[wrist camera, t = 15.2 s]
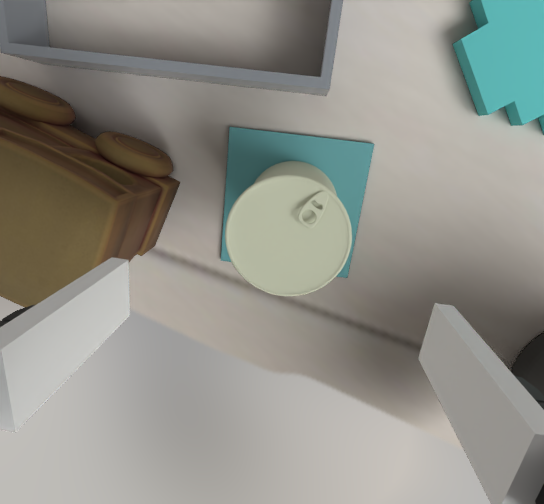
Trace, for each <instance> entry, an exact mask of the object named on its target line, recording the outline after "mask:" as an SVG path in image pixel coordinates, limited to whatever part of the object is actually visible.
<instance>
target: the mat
mask: <svg viewBox="0 0 544 504" xmlns="http://www.w3.org/2000/svg"><path fill="white" fill-rule="evenodd" d="M373 148H374V144H371V143H363V142H354V141H346V140H338V139H329V138H321V137H312V136H304V135H296V134H287V133H279V132H270V131H262V130H254V129H245V128H237V127H230V129H229V144H228V159H227V174H226V189H225V204H224V219H223V234H222V249H221V261H229V262H231V259H230V257H229V255H228V251H227V247H226V242H225V228H226V222H227V218H228V215H229V212H230V210H231V208H232V206H233V204H234V203H235V201H236V200H237V199H238V197H239V196H240V195H241V194H242V193H243V192H244V191H245V190H246V189H247V188H249V187H250V186H251V185H253V184H254V182H255V181H256V179H257V178H258V177H259V176H260V175H261V174H262V173H263V172H264V171H265V170H266V169H268V168H269V167H271V166H273V165H275V164H278V163H281V162H286V161H300V162H305V163H308V164H311V165H313V166H315V167H317V168H318V169H320V170H321V171H322V172H323V173H325V175H326V176H327V177H328V178H329V179H330V181H331V182H332V184H333V186H334V188H335V190H336V194H337V197H338V198H339V200H340V201H341V202H342V204H343V205H344V207H345V209H346V211H347V214H348V216H349V219H350V223H351V229H352V243H351V249H350V253H349V256H348V258H347V260H346V263H345V264H344V266H343V268H342V269H341V271H340V272H339V273H338V275H337V277H344V278H347V277H348V272H349V267H350V262H351V257H352V252H353V247H354V242H355V237H356V232H357V227H358V222H359V217H360V212H361V207H362V202H363V197H364V192H365V187H366V182H367V177H368V172H369V167H370V163H371V158H372V153H373Z"/></svg>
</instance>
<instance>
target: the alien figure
mask: <svg viewBox="0 0 544 504" xmlns="http://www.w3.org/2000/svg"><path fill="white" fill-rule="evenodd" d="M469 4H470V7H471V10H472V12H473V15H474V18H475V21H476V24H477V27H478V29H477V30H476V31H474V32H472V33H471V34H469V35H467V36H465V37H464V38H462V39H460V40H459V41H457V42H455V43H454V44H453V47H454V50H455V52H456V55H457V58H458V61H459V63H460V66H461V69H462V72H463V74H464V77H465V80H466V83H467V85H468V88H469V91H470V94H471V96H472V99H473V102H474V104H475V107H476V110H477V113H478V115H479V116H481V115H489V114H491V113H492V112H494V111H496V110H498V109H500V108H502V107H504V106H505V109H506V112H507V115H508V118H509V121H510V123H511V126H513V125H524V124H526V123H528V122H530V121H532V120H534V119H536V118H538V119H539V122H540V125H541V128H542V131H543V134H544V0H472V1H471V2H470V3H469Z"/></svg>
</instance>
